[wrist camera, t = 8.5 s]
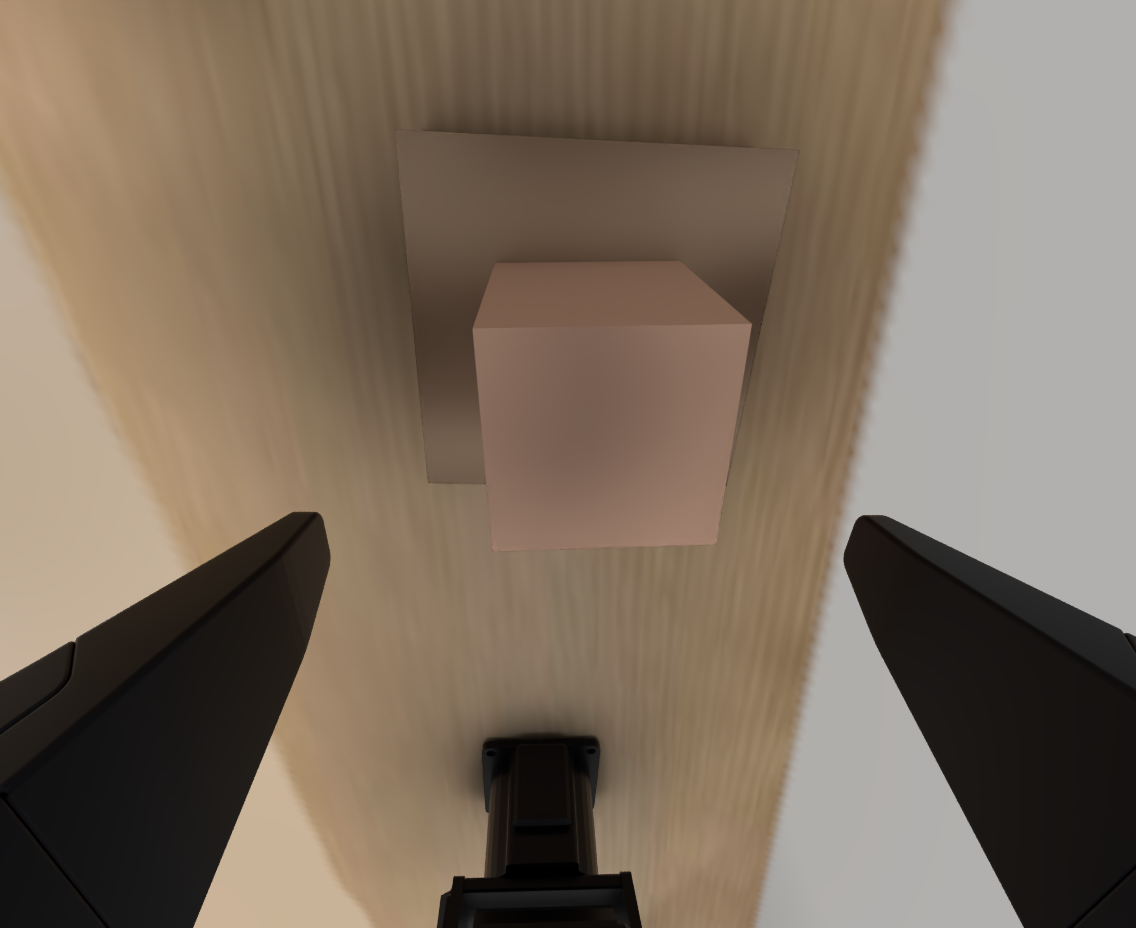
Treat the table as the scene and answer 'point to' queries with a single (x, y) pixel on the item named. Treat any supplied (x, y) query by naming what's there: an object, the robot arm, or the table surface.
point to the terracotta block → (606, 403)
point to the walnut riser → (568, 242)
